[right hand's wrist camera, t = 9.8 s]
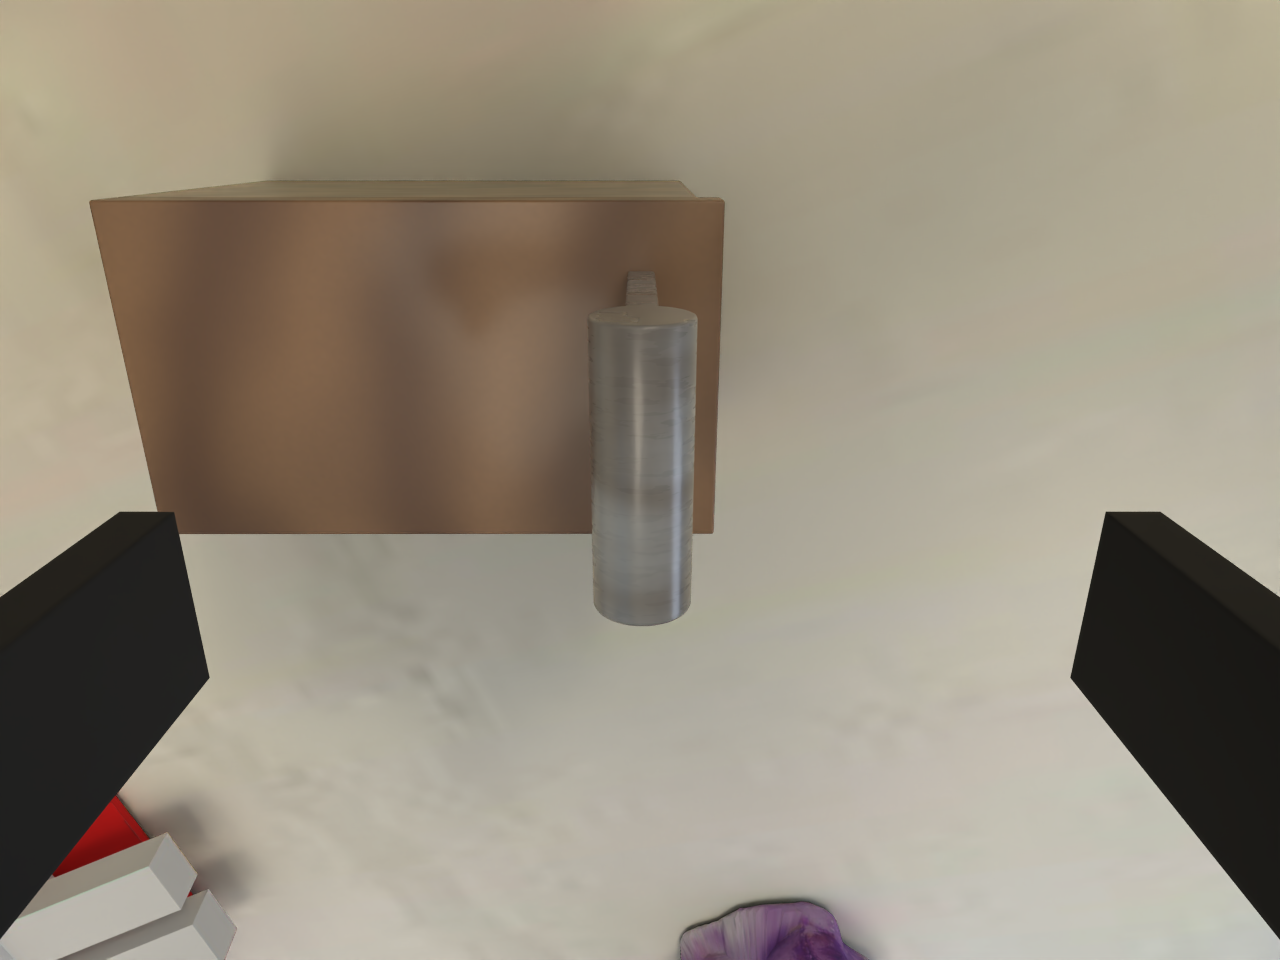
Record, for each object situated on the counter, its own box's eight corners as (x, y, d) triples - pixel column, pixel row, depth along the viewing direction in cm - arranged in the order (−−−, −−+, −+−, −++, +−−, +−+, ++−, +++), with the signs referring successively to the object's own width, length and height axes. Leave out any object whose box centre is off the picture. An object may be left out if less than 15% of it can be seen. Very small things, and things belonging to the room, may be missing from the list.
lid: (720, 196, 23) (768, 230, 15) (710, 518, 26) (743, 694, 18) (114, 197, 23) (-189, 230, 15) (181, 518, 26) (-32, 695, 18)
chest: (680, 180, 32) (697, 197, 23) (677, 418, 36) (690, 517, 27) (265, 180, 32) (115, 197, 23) (301, 419, 36) (182, 517, 27)
